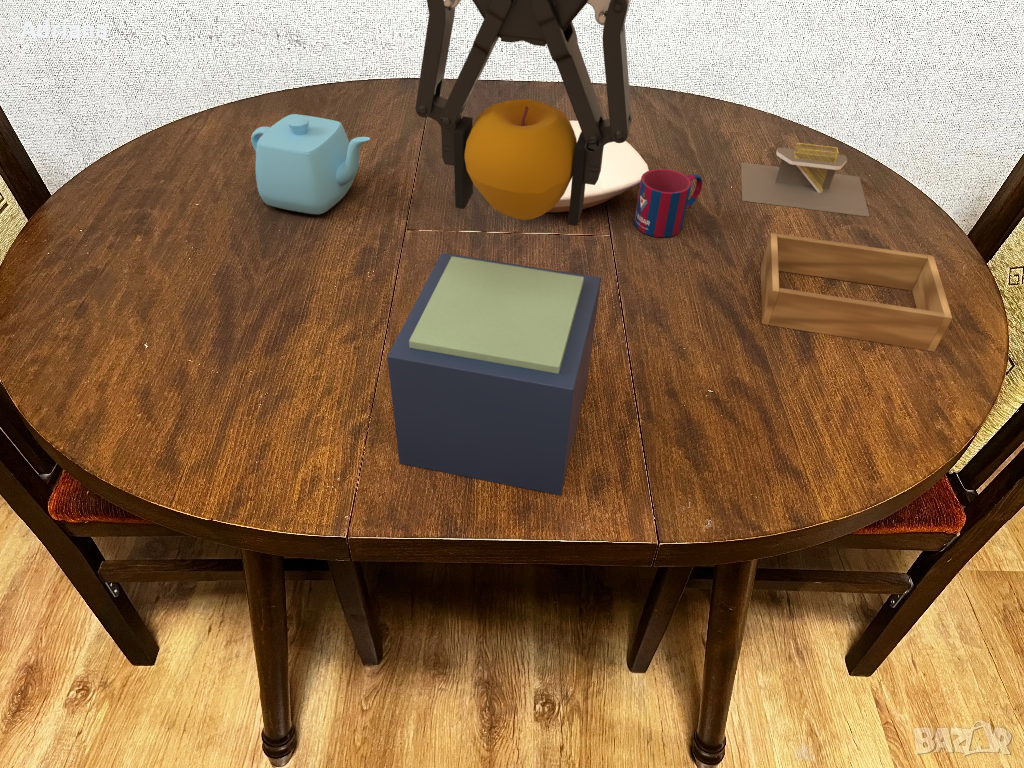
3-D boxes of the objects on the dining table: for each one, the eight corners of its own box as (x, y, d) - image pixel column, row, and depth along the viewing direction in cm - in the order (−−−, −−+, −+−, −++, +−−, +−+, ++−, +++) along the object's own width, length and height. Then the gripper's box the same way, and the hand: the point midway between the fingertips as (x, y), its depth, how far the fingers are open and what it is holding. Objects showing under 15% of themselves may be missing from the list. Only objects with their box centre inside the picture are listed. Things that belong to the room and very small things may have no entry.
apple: (456, 233, 60) (453, 124, 54) (477, 180, 66) (476, 77, 60) (565, 245, 59) (574, 137, 53) (575, 190, 65) (585, 87, 59)
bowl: (592, 144, 123) (596, 113, 119) (663, 211, 109) (669, 178, 105) (467, 167, 117) (467, 135, 113) (525, 241, 102) (526, 207, 99)
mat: (558, 374, 63) (559, 367, 63) (409, 347, 65) (408, 340, 65) (583, 283, 73) (584, 276, 72) (451, 262, 74) (451, 256, 74)
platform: (869, 216, 110) (886, 175, 105) (742, 200, 112) (753, 159, 107) (859, 176, 118) (874, 136, 113) (741, 162, 120) (751, 122, 116)
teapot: (359, 232, 103) (349, 153, 95) (240, 208, 106) (221, 130, 98) (395, 188, 112) (388, 112, 104) (284, 167, 115) (270, 93, 107)
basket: (934, 351, 88) (952, 318, 85) (761, 324, 91) (772, 290, 88) (917, 288, 97) (933, 255, 94) (760, 265, 100) (770, 232, 97)
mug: (625, 217, 108) (631, 173, 103) (684, 203, 111) (693, 160, 106) (650, 242, 103) (658, 197, 98) (711, 226, 106) (722, 182, 102)
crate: (561, 495, 72) (573, 389, 62) (399, 463, 74) (386, 356, 64) (587, 382, 83) (601, 277, 73) (445, 357, 85) (441, 252, 76)
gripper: (712, -118, 48) (654, 203, 63) (386, -144, 51) (409, 168, 66) (706, -90, 42) (645, 253, 58) (343, -121, 45) (378, 212, 61)
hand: (519, 207), depth 62 cm, fingers closed on apple, 9 cm apart
